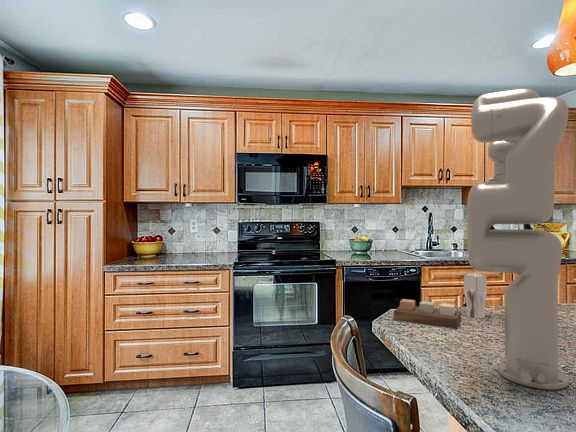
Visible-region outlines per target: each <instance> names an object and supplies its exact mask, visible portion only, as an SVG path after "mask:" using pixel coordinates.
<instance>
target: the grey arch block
mask: <svg viewBox="0 0 576 432" xmlns="http://www.w3.org/2000/svg"><path fill="white" fill-rule="evenodd" d="M463 277H464V279H463V291H464V292H463V293H464V298H465V302H466V312H465V313H466V314H465V315H466V317H468V318H473V319H485V318H486V314H485V313H486V312H485V307H486V305H485V304H486V301H487V299H486V298H487V292H488V284H487V275H486V274H483V273H474V272H473V273H472V272H471V273H470V272H469V273H464V276H463Z"/></svg>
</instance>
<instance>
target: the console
mask: <svg viewBox="0 0 576 432" xmlns="http://www.w3.org/2000/svg"><path fill="white" fill-rule="evenodd" d="M393 321H397V322H403V323H404V322H406V323H413V324H418V325H427V326H433V327H441V328H446V329H447V328H448V329H454V330H458V328H459V326H460V324H461V322H462V311H459V310H455V316H448V315H440V308H435V312H434V313H433V314H432V313H424V312H419V305H418V306H417V305H415V310H414V311H407V310H400V305H399V306H398V307H397V308H395V309H394V310H393Z"/></svg>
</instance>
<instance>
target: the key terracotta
mask: <svg viewBox="0 0 576 432" xmlns="http://www.w3.org/2000/svg"><path fill="white" fill-rule="evenodd" d="M399 306H400V310H407V311H414V310H415V306H416V300H414V299H406V298H402V299H400V301H399Z"/></svg>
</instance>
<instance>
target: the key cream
mask: <svg viewBox="0 0 576 432" xmlns="http://www.w3.org/2000/svg"><path fill="white" fill-rule="evenodd" d="M439 309H440V315H448V316H455V311H456V304H454V303H453V304H451V303H445V302H441V304H440V305H439Z"/></svg>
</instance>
